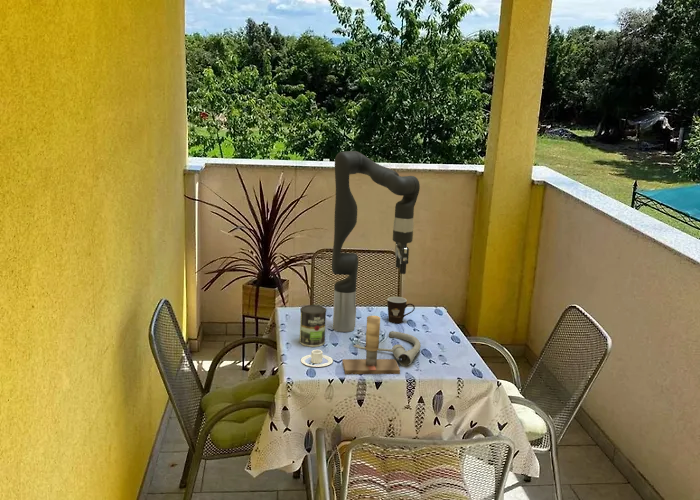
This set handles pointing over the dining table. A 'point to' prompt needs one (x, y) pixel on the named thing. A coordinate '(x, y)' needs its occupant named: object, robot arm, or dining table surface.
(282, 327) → the dining table surface
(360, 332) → the dining table surface
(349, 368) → the board
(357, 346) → the faucet
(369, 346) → the tan grey cylinder
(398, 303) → the coffee mug
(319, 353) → the candle holder
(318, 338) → the coffee can
